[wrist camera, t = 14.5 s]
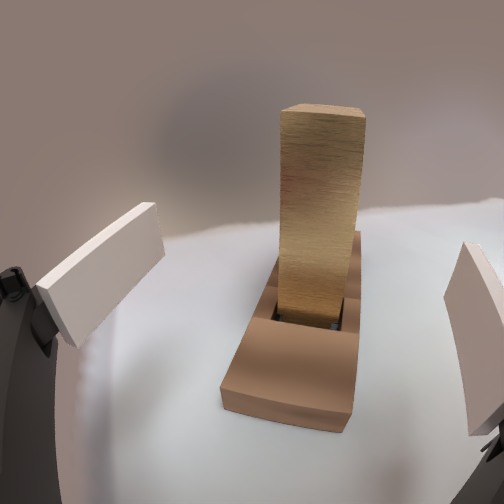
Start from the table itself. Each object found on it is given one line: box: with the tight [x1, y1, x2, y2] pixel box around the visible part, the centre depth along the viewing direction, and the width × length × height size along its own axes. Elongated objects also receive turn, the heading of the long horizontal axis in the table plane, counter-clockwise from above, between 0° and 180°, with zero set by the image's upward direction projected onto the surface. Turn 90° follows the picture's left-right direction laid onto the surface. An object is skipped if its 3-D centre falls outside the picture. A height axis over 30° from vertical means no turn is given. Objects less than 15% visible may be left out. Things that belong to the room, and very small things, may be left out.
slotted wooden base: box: [220, 231, 361, 433], centre depth 23 cm, size 20×7×2 cm, turn 163°
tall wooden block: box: [277, 104, 366, 330], centre depth 19 cm, size 7×4×15 cm, turn 163°
